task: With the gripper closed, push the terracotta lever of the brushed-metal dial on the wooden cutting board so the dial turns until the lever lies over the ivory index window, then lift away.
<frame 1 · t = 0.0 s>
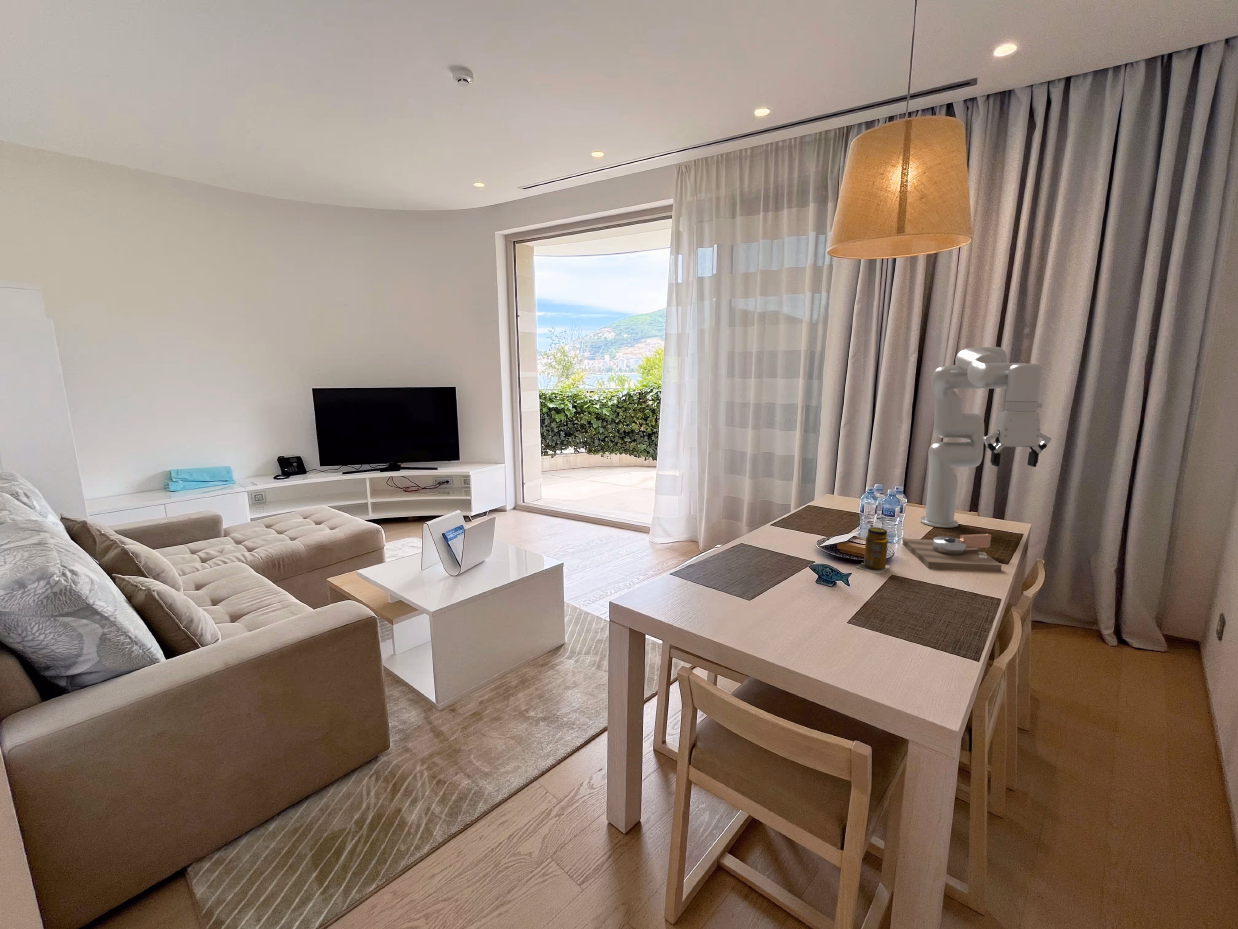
hand: (1013, 465, 156), 31 cm above the table, tool pointing down, fingers open, 9 cm apart
condiment: (872, 568, 163), on the table
wooden cutting board: (948, 556, 170), on the table
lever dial: (963, 542, 170), point 5 cm above the table, hinge at 35.0°
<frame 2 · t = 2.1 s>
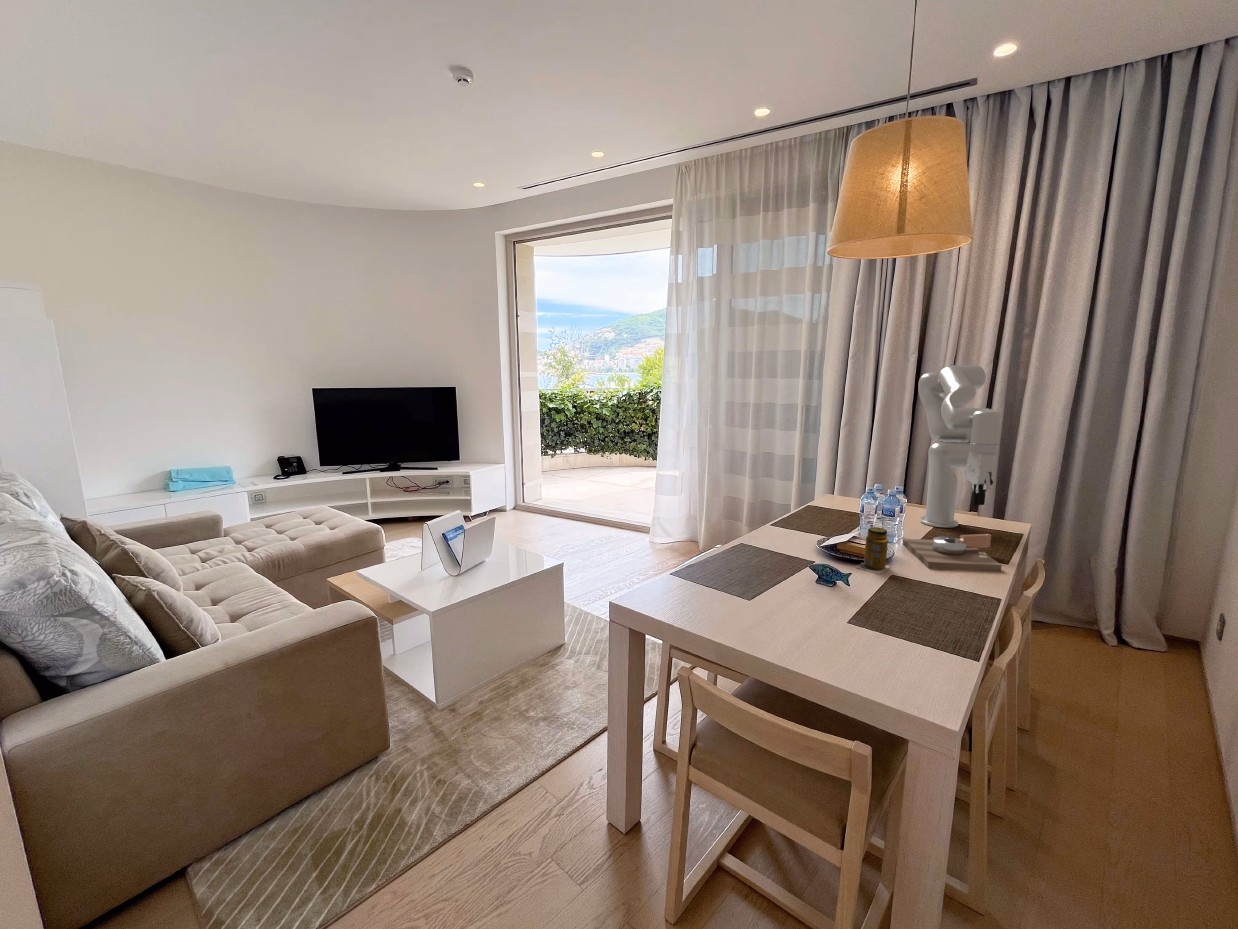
hand: (977, 504, 174), 15 cm above the table, tool pointing down, fingers closed
nothing on the table moved.
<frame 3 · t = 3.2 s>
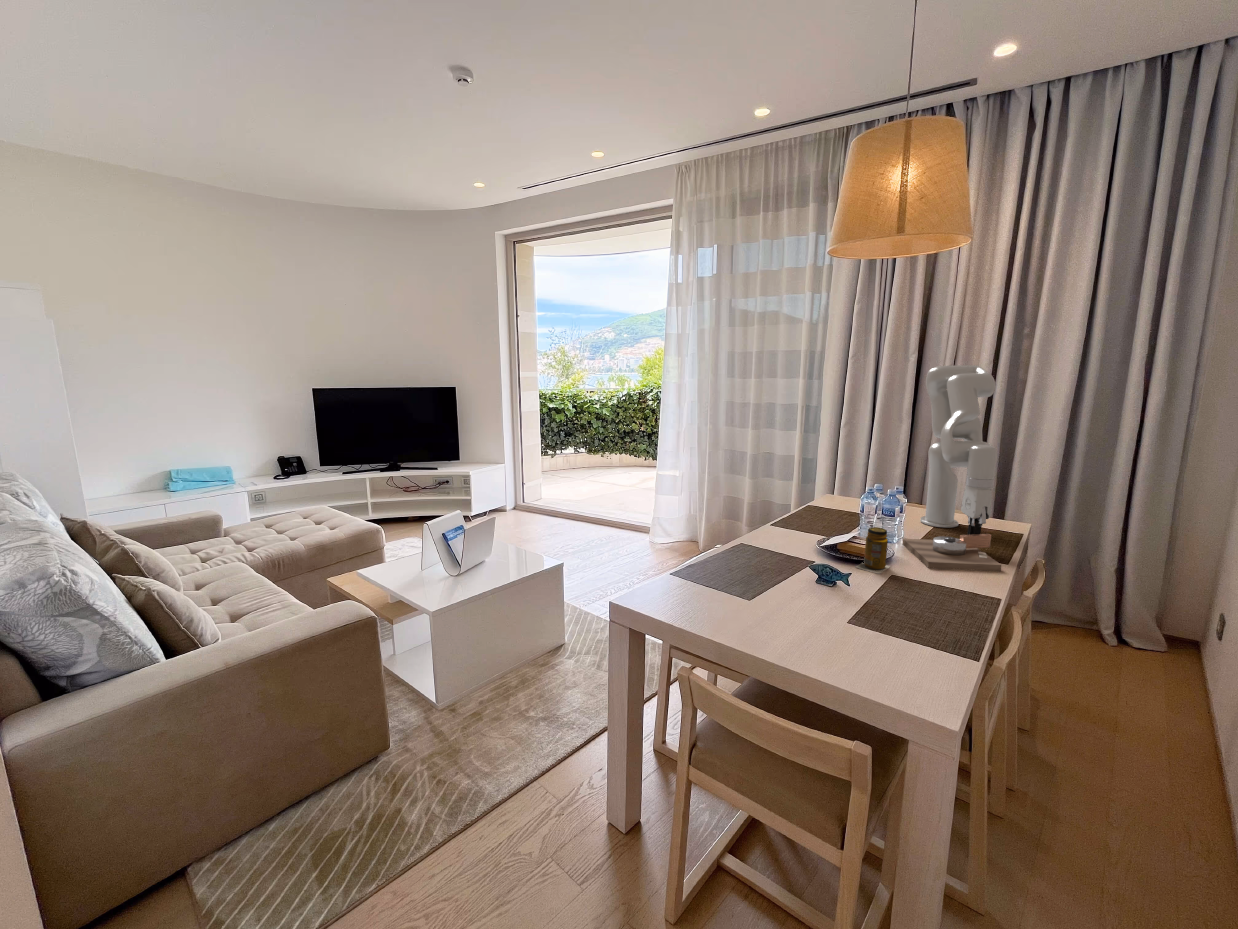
hand: (973, 536, 176), 4 cm above the table, tool pointing down, fingers closed
nothing on the table moved.
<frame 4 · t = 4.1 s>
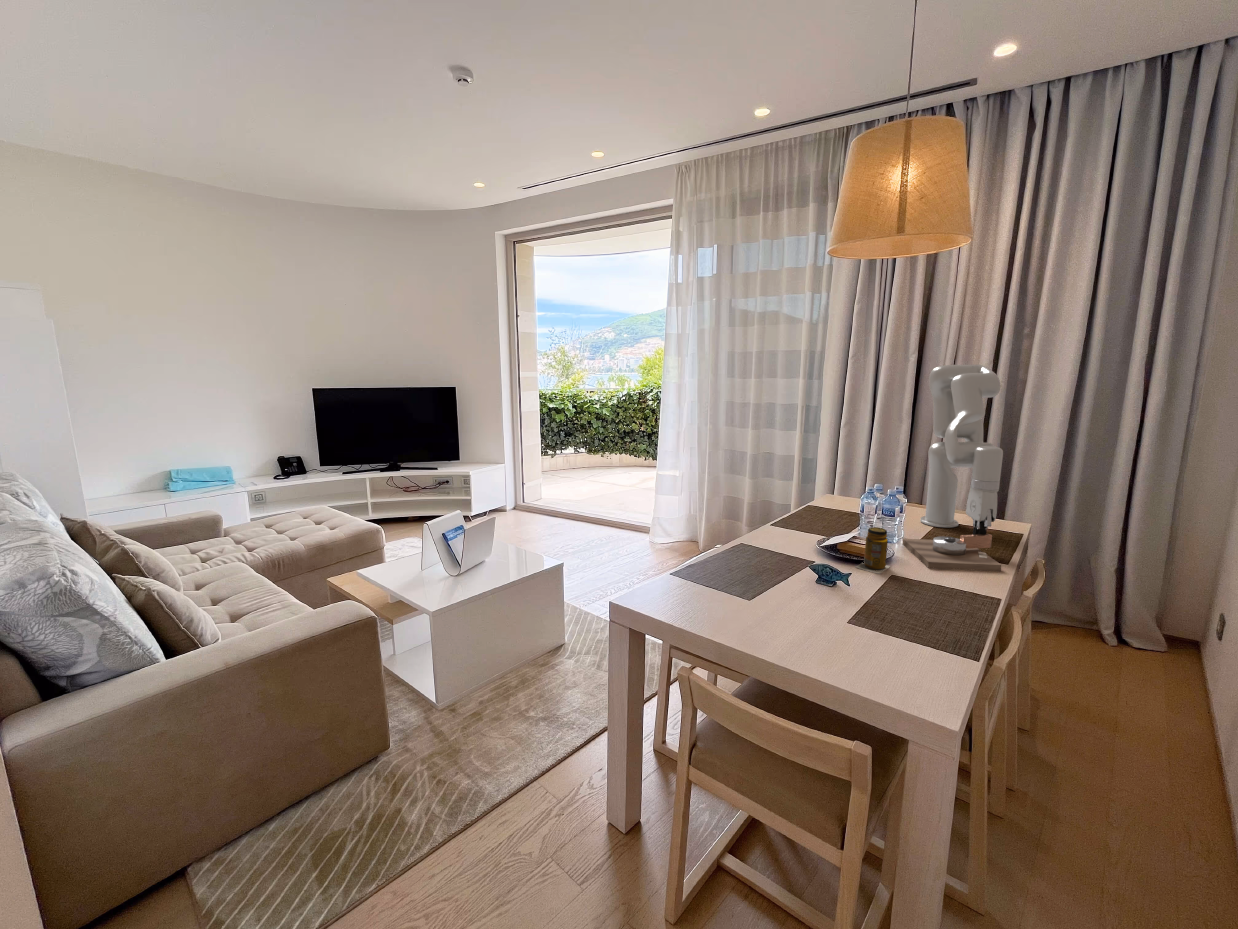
hand: (978, 539, 173), 4 cm above the table, tool pointing down, fingers closed
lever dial: (963, 542, 170), point 5 cm above the table, hinge at 33.4°, touching gripper
everything else where it was.
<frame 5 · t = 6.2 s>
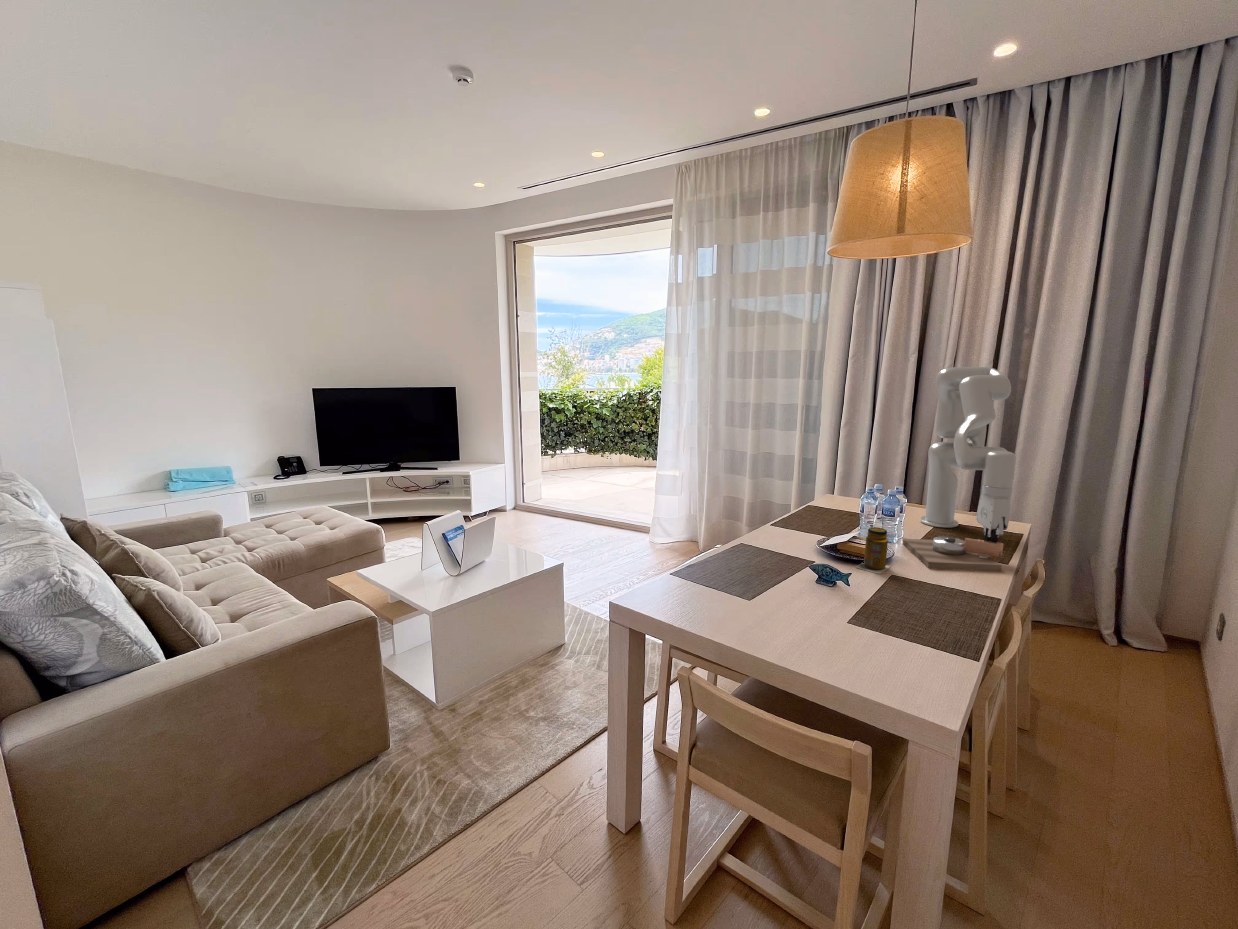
hand: (989, 548, 166), 4 cm above the table, tool pointing down, fingers closed
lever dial: (966, 545, 167), point 5 cm above the table, hinge at -4.1°, touching gripper
everything else where it was.
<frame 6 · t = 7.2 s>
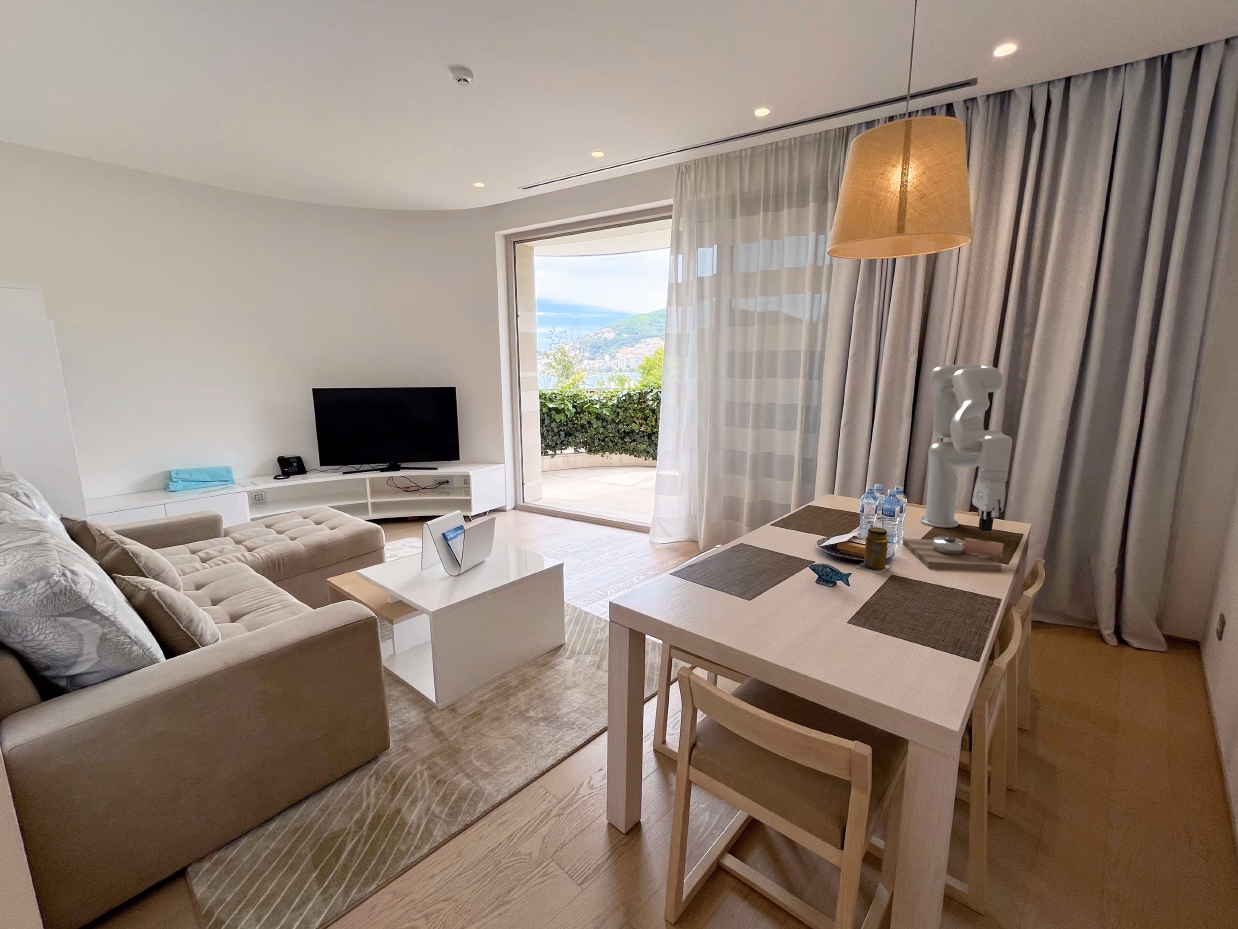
hand: (985, 530, 169), 9 cm above the table, tool pointing down, fingers closed
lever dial: (966, 545, 167), point 5 cm above the table, hinge at -4.2°
everything else where it was.
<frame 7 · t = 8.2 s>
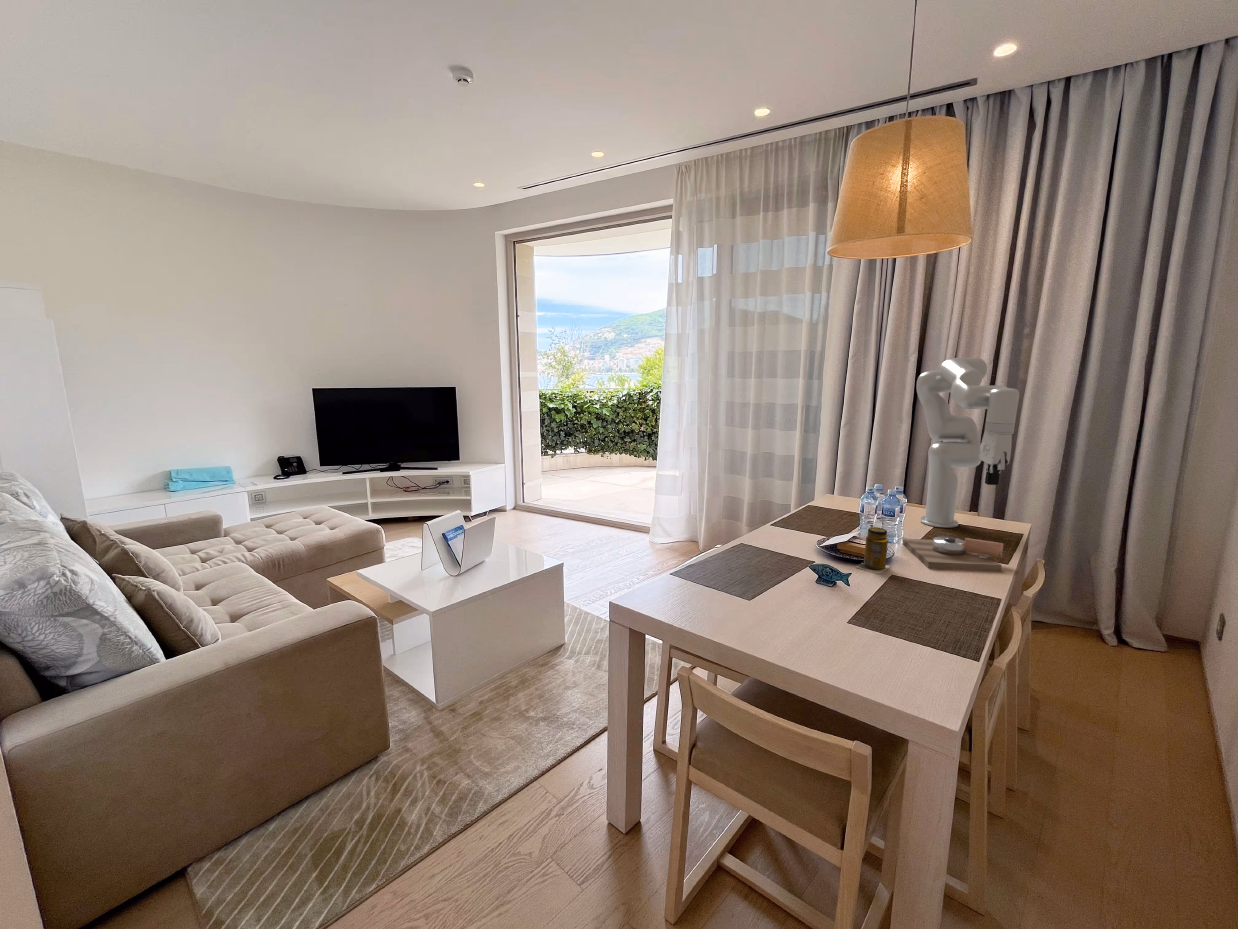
hand: (991, 484, 171), 22 cm above the table, tool pointing down, fingers closed
nothing on the table moved.
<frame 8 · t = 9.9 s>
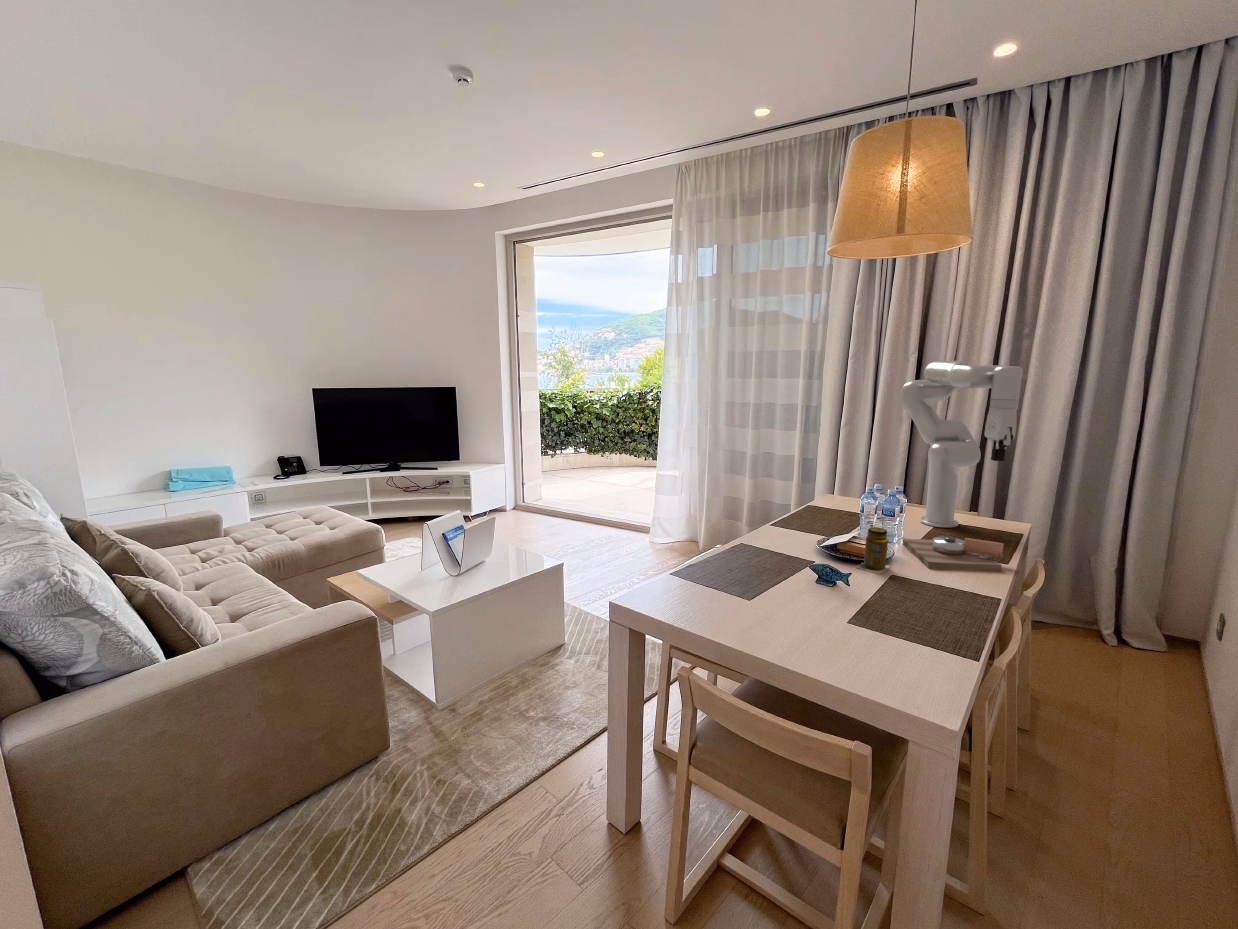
hand: (997, 460, 176), 29 cm above the table, tool pointing down, fingers closed
nothing on the table moved.
at the end: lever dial at -4° (first picture: +35°); condiment moved 0.3 cm from its start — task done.
